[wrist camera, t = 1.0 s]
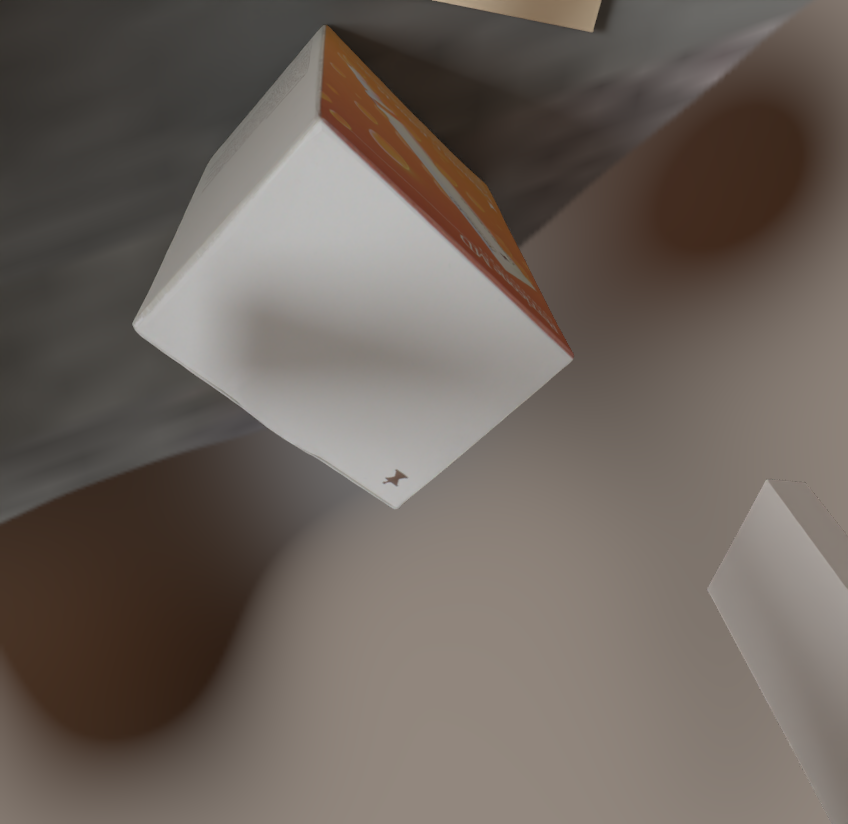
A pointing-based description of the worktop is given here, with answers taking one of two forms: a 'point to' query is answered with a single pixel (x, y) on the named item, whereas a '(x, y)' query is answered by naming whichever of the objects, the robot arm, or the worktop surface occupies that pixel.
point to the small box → (352, 282)
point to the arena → (541, 10)
